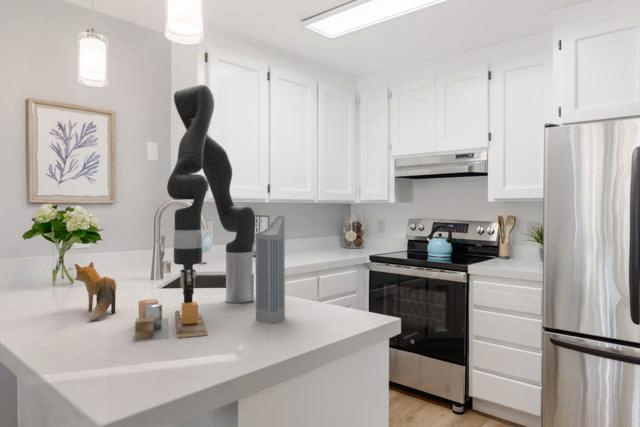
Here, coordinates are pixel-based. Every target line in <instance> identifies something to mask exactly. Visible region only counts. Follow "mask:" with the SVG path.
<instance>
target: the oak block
mask: <svg viewBox="0 0 640 427" xmlns="http://www.w3.org/2000/svg"><path fill="white" fill-rule="evenodd" d="M134 323H135V324H134V328H135V330H134V333H135V339H142V338H153V336H154V317H149V318H139V317H138V318H135V321H134Z"/></svg>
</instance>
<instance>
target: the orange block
mask: <svg viewBox="0 0 640 427" xmlns="http://www.w3.org/2000/svg"><path fill="white" fill-rule="evenodd" d="M198 314H199V304H198V302H197V301H192V302H190V303H184V302H182V303H181V315H182V324H192V323H198Z"/></svg>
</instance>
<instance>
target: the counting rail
mask: <svg viewBox="0 0 640 427" xmlns="http://www.w3.org/2000/svg"><path fill="white" fill-rule="evenodd" d="M174 318H175V328H176V335H177V339H189V338H200V337H208V336H209V335H208V331H207V328H206V326H205V323H204V320H203V317H202V314H201V313H199V312H198V323H192V324H182V314H180V310H175V311H174Z"/></svg>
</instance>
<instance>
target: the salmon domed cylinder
mask: <svg viewBox="0 0 640 427" xmlns="http://www.w3.org/2000/svg"><path fill="white" fill-rule="evenodd" d="M149 304H159V300H158V299H154V298H153V299H143V300H140V301H139V300H138V318H146V305H149Z"/></svg>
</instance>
